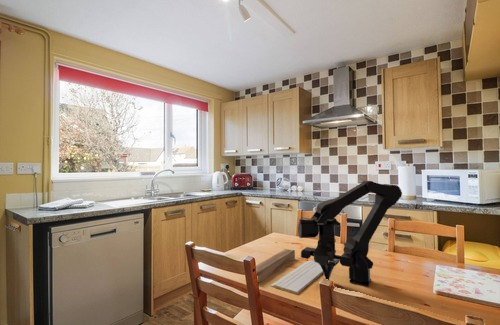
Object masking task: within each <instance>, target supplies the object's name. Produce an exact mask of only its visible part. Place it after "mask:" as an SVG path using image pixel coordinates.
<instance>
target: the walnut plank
mask: <svg viewBox="0 0 500 325" xmlns="http://www.w3.org/2000/svg"><path fill="white" fill-rule="evenodd" d="M295 259H296V251H295V250H294V249H293V250H291V249H287V248H284V249H283V250H281V251H279V252H277V253H276V254H274V255H272V256H271V257H268V258H267V259H264V260H263V261H261V262H259V263H258V264H257V265H255V266H256V269H257V276H258V282H259V283H258V284H260V283H261V282H262V281H263V280H266V279H267V278H268V277H270V276H271V275H273V274H274V273H276V272H278V271H279V270H280V269H282V268H283V267H285V266H286V265H288V264H290V263H291V261H293V260H295Z"/></svg>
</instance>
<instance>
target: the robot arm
mask: <svg viewBox="0 0 500 325" xmlns="http://www.w3.org/2000/svg"><path fill="white" fill-rule="evenodd" d="M370 193H372V194H375V196H374V204H373V206H372V207H371V209H370V211H369V213H368V214H367V216H366V218H365V220H364V221H363V223H362V225H361V227H360V228H359V230H358V232H356V234H355V236H353V237H351V236H349V235H348V237H347V239H346V242H345V243H344V244H343V246H344V247H343V249H342V250H343V253H342V254H341V255H338V254H336V253H337V250H336V242H337V241H336V240H337V239H336V236H335V235H336V230H335V228H336V226H341V222H339V221H338V220H337V219H336V217H337V216H338V215H340V214H341V212H342V211H343V209H344V208H346V207H348V206H349V205H351V204H353V203H355V202H356V201H358V200H359V199H361V198H363V197H364V196H366V195H368V194H370ZM402 195H403V192H402V189H401V188H400V186H399V185H397V184H387V183H382V184H381V183H378V182H374V181H372V180H363V181H362V182H361V183H359V184H357V185H356V186H354V187H352V188H350V189H349V190H347V191H345V192H344V193H342V194H341V195H339V196H337V197H335V198H331V199H327V200H324V201H322V202H320V203H318V204H317V206H316V211H315V212H314V214H313V215H312V217H311V218H299V221H298V224H297V225H298V226H297V234H298V238H300V239H309V238H311V239H313V238H314V239H315V238H316V237H318V240H317V246H316V247H309V246H306V247H304V248H303V249H302V250H301V252H300V258H302V259H305V260H307V259H311V257H313V261H315V262H316V263H318V264H319V265H320V266H321V268H322V270H323V273H322V274H323V275H324V277H325V278H324V279H325V280H326V279H328V280H327V281H329V280H330V278H331V276H332V273H333V270H334V267H335V266H337V265H338V264H340V265H341V266H342V267H348V279H349V283H351V284H356V285H361V286H365V287H369V286H370V284H371V282H372V278H371V269H373V267H374V261H373V260H371V259H370V258H369V257H368V254H369V251H370V250H369V249H370V247H369V246H370V242H371V239H372V237H373V236H374V235H375V233H376V232H377V229H378V227H379V225H380V224H381V222H382V220H383V219H384V217H385V215H386V213H387V211H388V210H389V209H390V208H391V207H393V206H395V205H396V204H397V203H398V201H399V200H401V198H402Z"/></svg>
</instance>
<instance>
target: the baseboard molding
mask: <svg viewBox="0 0 500 325" xmlns="http://www.w3.org/2000/svg"><path fill="white" fill-rule="evenodd" d="M322 274H324V273H323V270H322V268H321V266H320V265H319V264H318V263H316V262H315V261H314V259H313V260H308V259H306V262H304V263H302V264H301V265H299V266H298V267H296V268H295V269H293V270H292V271H290V272H288V273H287V274H285V275H284V276H283V277H281V278H280V279H278V280H276V281H275V282H274V283H272V284H270V287H272V288H275V289H278V290H281V291H285V292H287V293H291V294H294V295H298V294H299V293H300V292H301V291H303V290H304V289H305V288H307V287H308V286H309V285H310V284H311V283H313V282H314V281H316V279H317V278H319V277H320V276H321V275H322Z"/></svg>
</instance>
